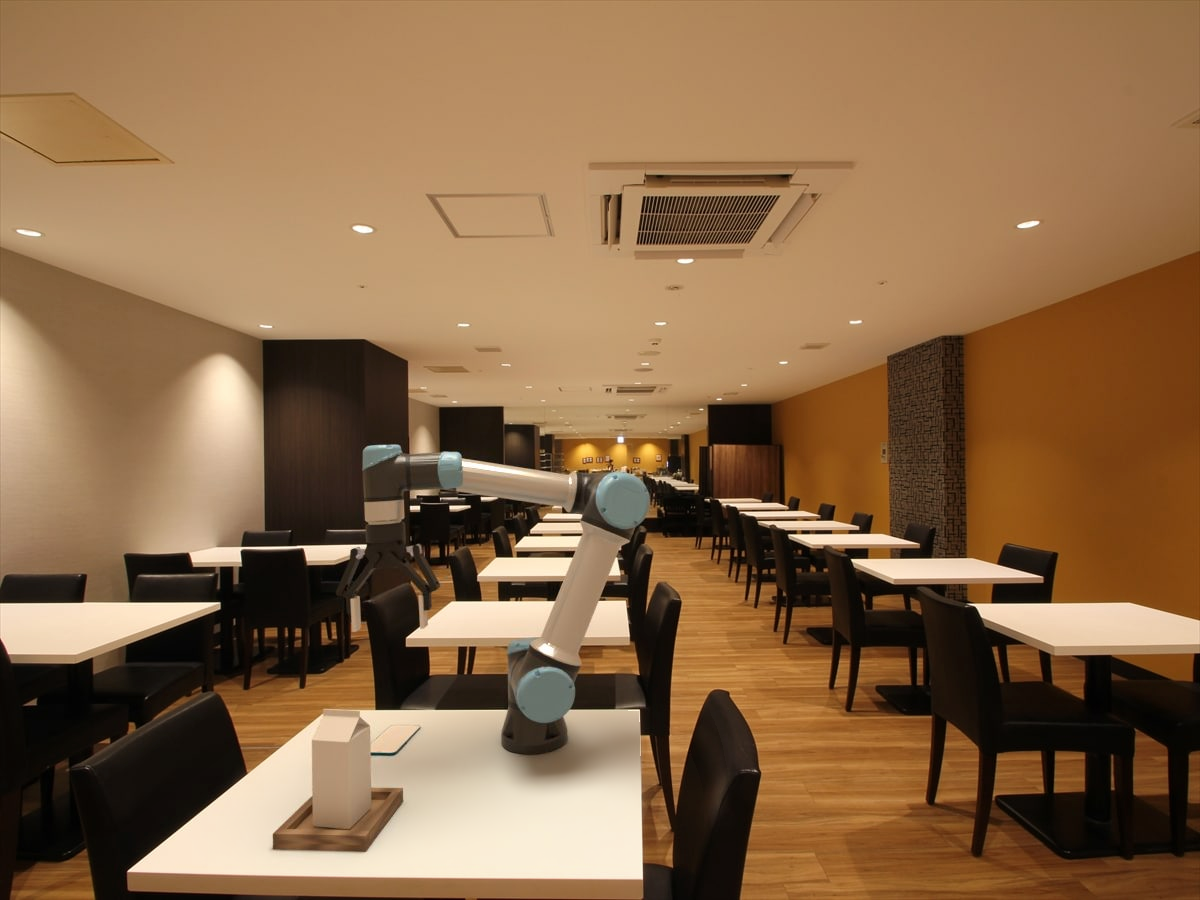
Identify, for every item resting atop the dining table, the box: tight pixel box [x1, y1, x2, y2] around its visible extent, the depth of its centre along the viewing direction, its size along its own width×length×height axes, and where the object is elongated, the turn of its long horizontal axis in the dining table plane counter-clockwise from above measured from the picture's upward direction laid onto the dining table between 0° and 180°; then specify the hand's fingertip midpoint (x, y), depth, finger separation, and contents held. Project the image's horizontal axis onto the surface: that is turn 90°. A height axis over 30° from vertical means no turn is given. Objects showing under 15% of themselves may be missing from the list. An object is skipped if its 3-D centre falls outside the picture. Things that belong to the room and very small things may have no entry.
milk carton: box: [311, 708, 372, 829], centre depth 116 cm, size 7×7×19 cm
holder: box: [272, 787, 404, 852], centre depth 116 cm, size 16×16×2 cm
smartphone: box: [370, 724, 421, 757], centre depth 151 cm, size 8×1×16 cm
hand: (390, 628), depth 130 cm, fingers open, 13 cm apart
